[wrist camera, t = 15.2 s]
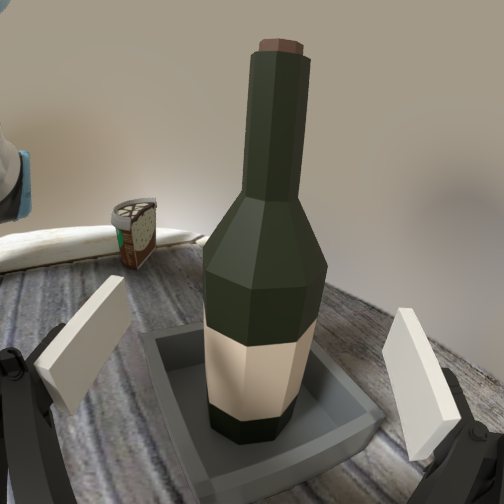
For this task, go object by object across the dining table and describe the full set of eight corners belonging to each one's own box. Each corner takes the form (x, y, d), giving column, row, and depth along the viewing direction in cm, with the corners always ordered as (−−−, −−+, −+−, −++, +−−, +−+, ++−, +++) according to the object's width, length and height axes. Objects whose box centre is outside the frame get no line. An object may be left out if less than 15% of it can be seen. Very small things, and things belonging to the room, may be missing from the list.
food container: (132, 242, 63) (128, 195, 59) (158, 244, 62) (156, 197, 58) (104, 269, 52) (97, 216, 47) (134, 274, 51) (128, 218, 47)
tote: (149, 373, 32) (141, 333, 30) (275, 342, 39) (281, 304, 36) (204, 518, 18) (198, 497, 15) (363, 449, 24) (386, 415, 22)
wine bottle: (218, 373, 32) (229, 54, 19) (295, 387, 31) (348, 63, 18) (194, 434, 25) (183, 26, 12) (285, 453, 23) (365, 34, 11)
